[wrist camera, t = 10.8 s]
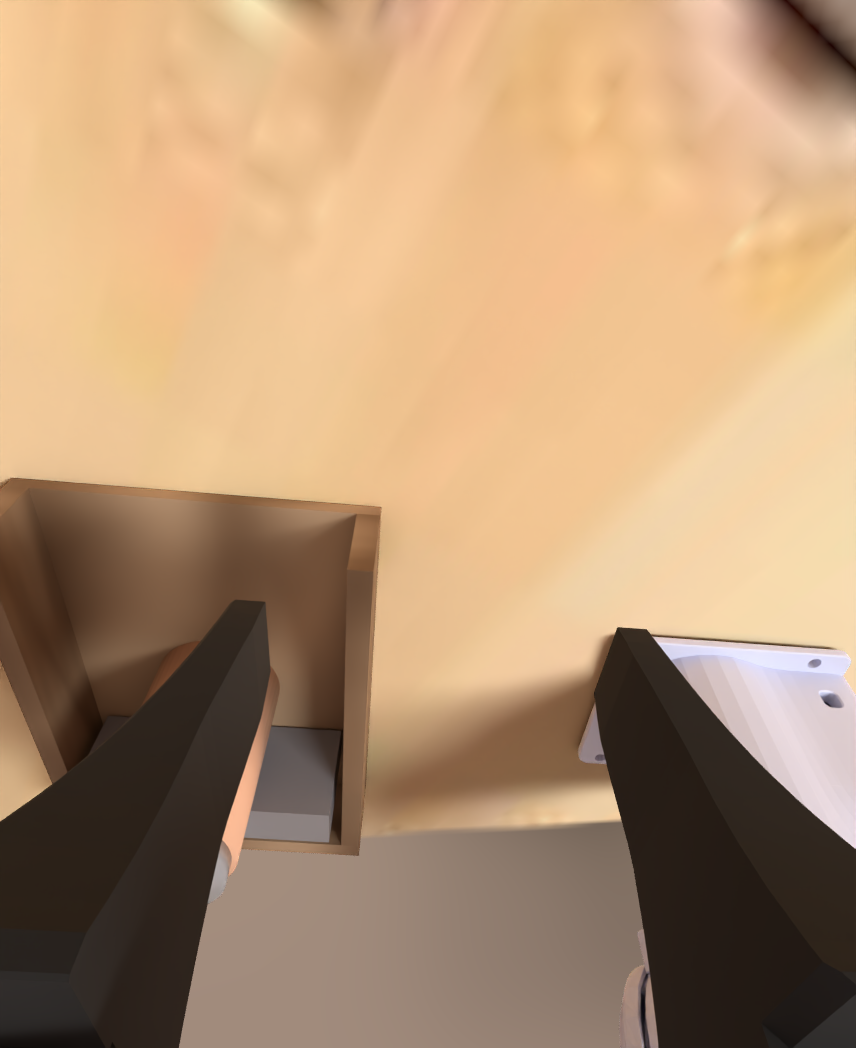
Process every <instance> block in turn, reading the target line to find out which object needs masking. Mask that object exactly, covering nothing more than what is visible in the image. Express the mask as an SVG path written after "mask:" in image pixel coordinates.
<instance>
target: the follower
mask: <svg viewBox="0 0 856 1048" xmlns="http://www.w3.org/2000/svg"><path fill="white" fill-rule="evenodd" d="M129 718H130V717H119V716H108V717H107V719H106V721H105V723H104V725H103V727H102V729H101V731H100V733H99V735H98V737H97V739H96V741H95V743H94V745H93V747H92V749H91V751H90V753H92V752H93V751H94V750H95V749H96V748H97V747H98V746H100V745H101V744H102V743H103V742H104V741H105V740H106V739H107V738H109V737H110V736H111V735H112V734H113V733H114V732H115V731H116V730H117V729H119V728H120V727H121V726H122V725H123V724H124V723H125V722H126V721H127V720H128V719H129ZM90 753H89V754H90ZM340 759H341V731H335V730H319V729H304V728H288V727H273V726H271V730H270V734H269V738H268V742H267V746H266V750H265V754H264V758H263V762H262V766H261V770H260V774H259V779H258V783H257V787H256V791H255V795H254V799H253V803H252V807H251V811H250V815H249V819H248V823H247V827H246V831H245V835H244V838H260V839H277V840H294V841H312V842H329V839H330V832H331V824H332V817H333V810H334V802H335V795H336V788H337V781H338V773H339V766H340Z"/></svg>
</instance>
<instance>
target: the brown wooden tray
mask: <svg viewBox="0 0 856 1048" xmlns="http://www.w3.org/2000/svg"><path fill="white" fill-rule="evenodd" d="M380 522H381V507H371V506H358V505H346V504H333V503H321V502H308V501H295V500H283V499H270V498H258V497H245V496H232V495H220V494H207V493H194V492H182V491H169V490H157V489H144V488H131V487H119V486H106V485H94V484H81V483H68V482H56V481H43V480H30V479H18V478H11V479H10V480H9V481H8V482H7V483H6V484H5V485H4V486H3V487H2V488H1V489H0V660H1V662H2V665H3V667H4V670H5V672H6V674H7V677H8V679H9V681H10V684H11V686H12V689H13V691H14V693H15V696H16V698H17V700H18V703H19V705H20V708H21V710H22V712H23V715H24V717H25V719H26V722H27V724H28V727H29V729H30V731H31V734H32V736H33V739H34V741H35V743H36V746H37V748H38V750H39V753H40V755H41V758H42V760H43V762H44V765H45V767H46V769H47V772H48V774H49V777H50V779H51V781H52V784H53V783H54V782H56V781H57V780H58V779H60V778H61V777H62V776H63V775H65V774H66V773H67V772H68V771H70V770H71V769H72V768H73V767H74V766H76V765H77V764H78V763H79V762H81V761H82V760H83V759H84V758H85V757H87V756H88V755H89V753H90V751H91V749H92V747H93V745H94V743H95V741H96V739H97V737H98V735H99V733H100V731H101V729H102V727H103V725H104V723H105V721H106V719H107V717H108V716H119V717H131V716H132V715H133V714H134V713H135V712H136V711H137V710H138V709H139V708H140V707H141V706H142V704H143V702H144V700H145V697H146V695H147V693H148V691H149V689H150V686H151V684H152V682H153V680H154V678H155V675H156V673H157V671H158V669H159V667H160V664H161V662H162V660H163V659H164V657H165V656H166V655H167V654H168V653H169V652H170V651H172V650H173V649H175V648H176V647H178V646H180V645H183V644H186V643H190V642H194V641H201V640H202V639H203V638H204V636H205V635H206V634H207V633H208V631H209V630H210V629H211V628H212V626H213V625H214V624H215V622H216V621H217V620H218V619H219V617H220V616H221V615H222V613H223V612H224V611H225V609H226V608H227V607H228V605H229V604H230V603H231V602H232V601H234V600H248V601H262V602H265V603H266V616H267V629H268V643H269V656H270V666H271V667H272V668H273V670H274V671H275V673H276V675H277V677H278V679H279V683H280V694H279V698H278V702H277V706H276V710H275V714H274V718H273V722H272V726H273V727H288V728H304V729H319V730H335V731H341V759H340V766H339V773H338V781H337V788H336V795H335V802H334V810H333V817H332V824H331V832H330V839H329V842H312V841H294V840H277V839H260V838H244V839H243V843H242V847H241V849H251V850H269V851H286V852H303V853H321V854H339V855H356V856H358V855H359V848H360V837H361V827H362V817H363V807H364V797H365V786H366V769H367V751H368V734H369V716H370V698H371V681H372V663H373V645H374V628H375V610H376V592H377V575H378V557H379V539H380Z"/></svg>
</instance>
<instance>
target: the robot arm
mask: <svg viewBox="0 0 856 1048" xmlns="http://www.w3.org/2000/svg"><path fill="white" fill-rule="evenodd" d="M850 664H851V659H850V657H849V656H848V654H847V653H846V652H844V651H841V650H830V649H816V648H802V647H789V646H775V645H761V644H747V643H733V642H719V641H706V640H692V639H678V638H664V637H652V635H651V634H650V633H649V632H648V630H647V629H633V628H620V627H618V628H617V630H616V633H615V636H614V639H613V642H612V644H611V647H610V650H609V653H608V656H607V658H606V661H605V664H604V667H603V670H602V672H601V675H600V678H599V681H598V684H597V687H596V689H595V692H594V697H595V704H594V707H593V709H592V712H591V715H590V718H589V720H588V723H587V726H586V729H585V731H584V734H583V737H582V740H581V743H580V745H579V748H578V756H579V759H580V760H581V761H583V762H585V763H597V764H607V768H608V771H609V775H610V779H611V783H612V786H613V790H614V794H615V798H616V801H617V805H618V809H619V812H620V816H621V820H622V823H623V827H624V831H625V834H626V838H627V841H628V846H629V850H630V855H631V859H632V864H633V868H634V873H635V880H636V886H637V892H638V898H639V904H640V910H641V916H642V923H643V929H642V930H640V931H638V933H637V935H638V939H639V943H640V948H641V952H642V957H643V961H644V965H642V966H638V967H637V968H635V969H634V970H633V971H632V972H631V973H630V975H629V977H628V979H627V981H626V985H625V989H624V993H623V1002H622V1006H621V1011H620V1022H619V1023H620V1024H619V1034H620V1047H621V1048H856V695H855V693H854V692H853V690H852V688H851V687H850V685H849V684H848V682H847V681H846V679H845V678H844V676H843V675H844V674H845V672H846V671H847V669H848V668H849V666H850ZM270 672H271V669H270V656H269V643H268V629H267V616H266V603H265V602H262V601H248V600H234V601H232V602H231V603H230V604H229V605H228V607H227V608H226V609H225V611H224V612H223V613H222V615H221V616H220V617H219V619H218V620H217V621H216V622H215V624H214V625H213V626H212V628H211V629H210V630H209V631H208V633H207V634H206V635H205V636H204V638H203V639H202V640H201V641H200V642H199V644H198V645H197V646H196V647H195V649H194V650H193V651H192V652H191V653H190V654H189V655H188V657H187V658H186V659H185V660H184V661H183V662H182V663H181V665H180V666H179V667H178V668H177V669H176V670H175V671H174V673H173V674H172V675H171V676H170V677H169V678H168V679H167V680H166V681H165V683H164V684H163V685H162V686H161V687H160V688H159V689H158V690H157V691H156V692H155V693H154V694H153V695H152V696H151V697H150V698H149V699H148V700H147V701H146V702H145V703H144V704H143V705H142V706H141V707H140V708H139V709H138V710H137V711H136V712H135V713H134V714H133V715H132V716H131V717H130V718H129V719H128V720H127V721H126V722H125V723H124V724H123V725H122V726H121V727H120V728H119V729H117V730H116V731H115V732H114V733H113V734H112V735H111V736H110V737H109V738H107V739H106V740H105V741H104V742H103V743H102V744H101V745H100V746H98V747H97V748H96V749H95V750H94V751H93V752H92V753H90V754H89V755H88V756H87V757H85V758H84V759H83V760H82V761H81V762H79V763H78V764H77V765H76V766H74V767H73V768H72V769H71V770H70V771H68V772H67V773H66V774H65V775H63V776H62V777H61V778H60V779H58V780H57V781H56V782H54V783H53V784H52V785H51V786H49V787H48V788H47V789H45V790H44V791H43V792H41V793H40V794H39V795H37V796H36V797H34V798H33V799H32V800H30V801H29V802H27V803H26V804H25V805H23V806H22V807H20V808H19V809H17V810H16V811H15V812H13V813H12V814H10V815H9V816H7V817H6V818H5V819H3V820H2V821H0V1048H179V1043H180V1038H181V1032H182V1027H183V1021H184V1016H185V1011H186V1006H187V1001H188V996H189V991H190V986H191V981H192V976H193V971H194V965H195V961H196V956H197V951H198V946H199V941H200V937H201V932H202V927H203V922H204V918H205V913H206V909H207V904H208V899H209V895H210V890H211V886H212V881H213V877H214V873H215V868H216V864H217V859H218V855H219V851H220V846H221V842H222V839H223V835H224V832H225V828H226V825H227V821H228V818H229V815H230V812H231V809H232V806H233V803H234V800H235V797H236V794H237V791H238V788H239V785H240V782H241V779H242V776H243V772H244V769H245V766H246V763H247V760H248V757H249V754H250V751H251V748H252V745H253V742H254V739H255V736H256V733H257V730H258V726H259V723H260V720H261V716H262V712H263V707H264V702H265V697H266V692H267V687H268V682H269V677H270Z"/></svg>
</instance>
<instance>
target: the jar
mask: <svg viewBox="0 0 856 1048" xmlns="http://www.w3.org/2000/svg"><path fill="white" fill-rule="evenodd" d="M199 642H200V641H194V642H190V643H186V644H183V645H180V646H178V647H176V648H175V649H173V650H172V651H170V652H169V653H168V654H167V655H166V656H165V657H164V659H163V660H162V662H161V664H160V667H159V669H158V671H157V673H156V675H155V678H154V680H153V682H152V684H151V686H150V689H149V691H148V693H147V695H146V697H145V700H144V702H143V704H144V703H145V702H146V701H147V700H148V699H149V698H150V697H151V696H152V695H153V694H154V693H155V692H156V691H157V690H158V689H159V688H160V687H161V686H162V685H163V684H164V683H165V681H166V680H167V679H168V678H169V677H170V676H171V675H172V674H173V673H174V671H175V670H176V669H177V668H178V667H179V666H180V665H181V663H182V662H183V661H184V660H185V659H186V658H187V657H188V655H189V654H190V653H191V652H192V651H193V650H194V649H195V647H196V646H197V645H198V644H199ZM270 669H271V672H270V677H269V682H268V687H267V692H266V697H265V702H264V707H263V712H262V716H261V720H260V723H259V726H258V730H257V733H256V736H255V739H254V742H253V745H252V748H251V751H250V754H249V757H248V760H247V763H246V766H245V769H244V772H243V776H242V779H241V782H240V785H239V788H238V791H237V794H236V797H235V800H234V803H233V806H232V809H231V812H230V815H229V818H228V821H227V825H226V828H225V832H224V835H223V839H222V842H221V846H220V851H219V855H218V859H217V864H216V868H215V873H214V877H213V881H212V886H211V890H210V895H209V899H208V904H209V903H211V902H213V901H215V900H216V899H217V898H219V897H220V896H221V895H222V893H223V891H224V889H225V886H226V882H227V878H228V876H229V875H231V874H232V873H233V872H234V870H235V868H236V866H237V863H238V859H239V855H240V851H241V847H242V843H243V839H244V835H245V831H246V827H247V823H248V819H249V815H250V811H251V807H252V803H253V799H254V795H255V791H256V787H257V783H258V779H259V774H260V770H261V766H262V762H263V758H264V754H265V750H266V746H267V742H268V738H269V734H270V730H271V726H272V722H273V718H274V714H275V710H276V706H277V702H278V698H279V694H280V683H279V679H278V677H277V675H276V673H275V671H274V670H273V668H272V667H271V666H270ZM143 704H142V705H143Z"/></svg>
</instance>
